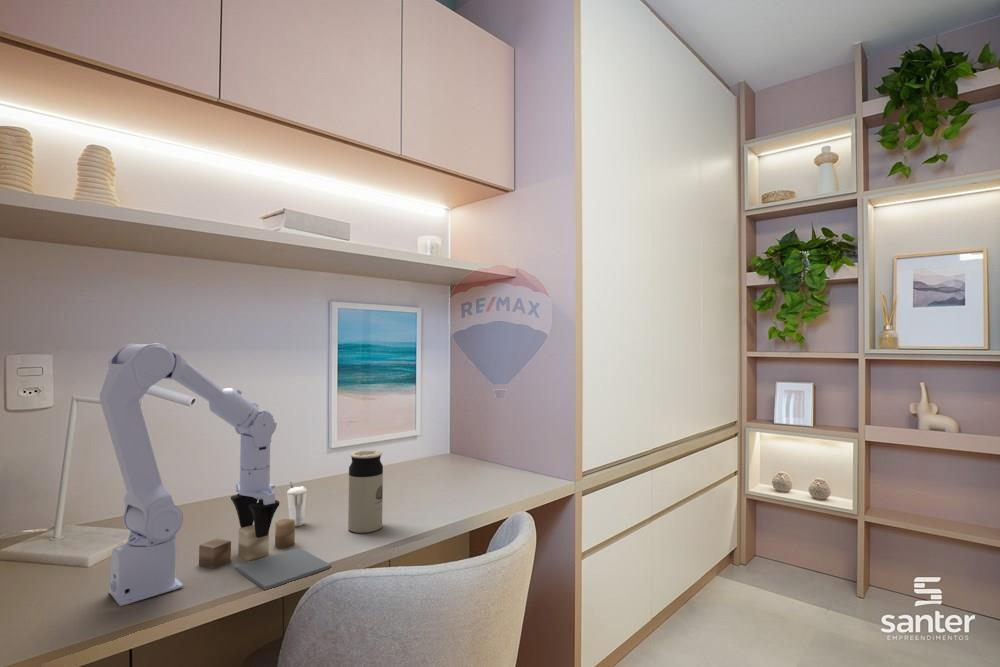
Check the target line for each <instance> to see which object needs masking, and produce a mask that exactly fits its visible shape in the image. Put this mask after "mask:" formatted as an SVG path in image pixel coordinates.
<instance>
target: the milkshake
mask: <svg viewBox="0 0 1000 667" xmlns="http://www.w3.org/2000/svg"><path fill="white" fill-rule="evenodd" d="M289 484H290V485H289V486H290V488H289V489H288V490H287V491H286V493H287V507H288V519H293V520H295V528H296V527H300V526H303V525H304V521H305V512H306V501H307V494H308V489H307V488H306V487H305V486H293V482H292V481H289Z"/></svg>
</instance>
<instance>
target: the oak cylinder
mask: <svg viewBox="0 0 1000 667" xmlns="http://www.w3.org/2000/svg"><path fill="white" fill-rule="evenodd" d="M274 529H275V530H274V531H275V532H274V533H275V534H274V542H275V543H274V547H275V548H277V549H286V548H290V547H293V546H294V545H295V543H296V542H295V540H296V539H295V538H296V534H295V533H296V527H295V520H293V519H289V518H283V519H280V520H277V521H276V522H275V527H274Z"/></svg>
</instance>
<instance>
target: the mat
mask: <svg viewBox="0 0 1000 667" xmlns="http://www.w3.org/2000/svg"><path fill="white" fill-rule="evenodd" d="M331 568H332V564H331V563H329V562H327V561H325V560H323V559H321V558H320V557H318V556H316V555H314V554H312V553H311V552H309V551H307V550H304V549H303V548H301V547H297V548H294V549H289V550H286V551H282V552H279V553H277V554H273V555H270V556H266V557H263V558H259V559H256V560H255V559H254V560H253V561H249V562H245V563H243V564H239V565H235V570H236V571H237V572H239V573H240V574H242V575H243V576H244V577H246V578H247V579H249V581H251V582H253V583H254V584H255V585H257V586H258V587H259V588H261V589H263V590H264V591H266V590H269V589H272V588H276V587H278V586H282V585H284V584H287V583H290V582H293V581H296V580H299V579H303V578H304V577H307V576H311V575H314V574H316V573H319V572H322V571H325V570H328V569H331Z"/></svg>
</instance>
